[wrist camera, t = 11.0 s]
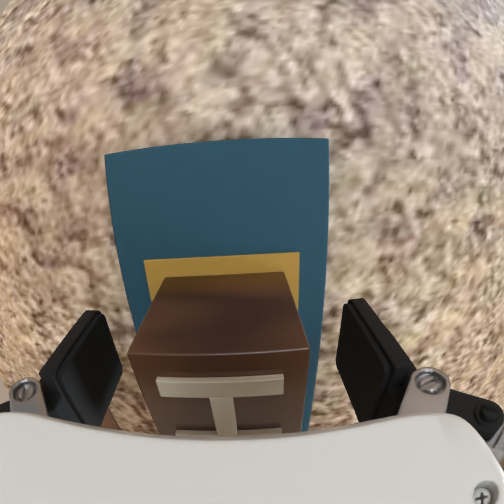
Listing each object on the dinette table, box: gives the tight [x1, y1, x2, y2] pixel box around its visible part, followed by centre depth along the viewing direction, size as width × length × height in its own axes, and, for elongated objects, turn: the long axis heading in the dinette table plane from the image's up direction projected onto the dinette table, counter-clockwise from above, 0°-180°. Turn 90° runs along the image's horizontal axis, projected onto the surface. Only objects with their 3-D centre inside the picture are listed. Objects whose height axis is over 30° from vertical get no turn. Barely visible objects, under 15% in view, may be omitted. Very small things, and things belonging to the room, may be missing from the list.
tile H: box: [127, 271, 310, 437], centre depth 9 cm, size 4×4×5 cm
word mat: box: [105, 138, 329, 432], centre depth 14 cm, size 8×24×1 cm, turn 2°
